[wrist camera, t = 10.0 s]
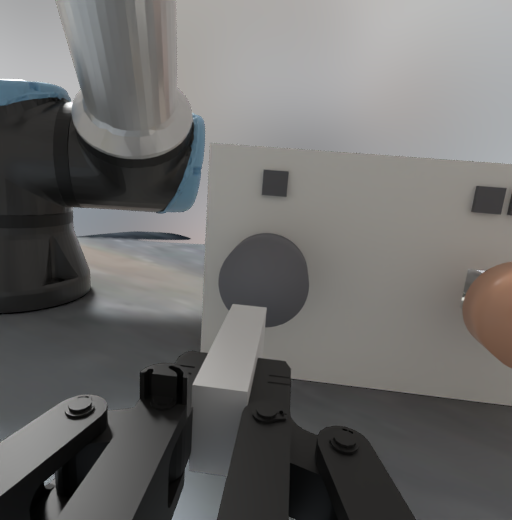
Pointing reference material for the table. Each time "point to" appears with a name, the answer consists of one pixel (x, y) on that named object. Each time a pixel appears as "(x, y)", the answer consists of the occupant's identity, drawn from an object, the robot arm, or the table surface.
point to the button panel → (368, 262)
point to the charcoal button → (266, 277)
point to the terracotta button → (490, 309)
